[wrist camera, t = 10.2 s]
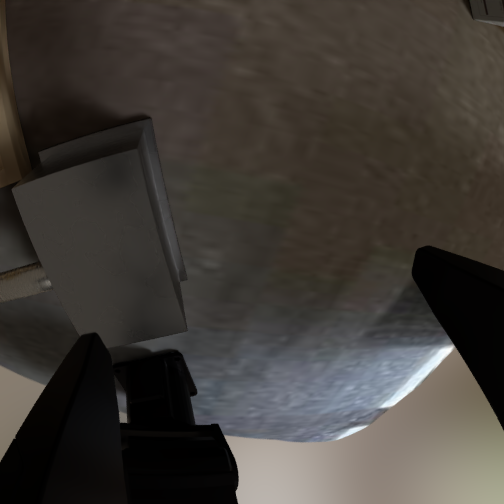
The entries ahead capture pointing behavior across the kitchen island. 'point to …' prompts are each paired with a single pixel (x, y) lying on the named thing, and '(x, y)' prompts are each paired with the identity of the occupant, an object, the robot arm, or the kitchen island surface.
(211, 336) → the kitchen island surface
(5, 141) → the tray
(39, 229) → the vise block
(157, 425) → the robot arm
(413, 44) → the kitchen island surface
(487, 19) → the supplement box
